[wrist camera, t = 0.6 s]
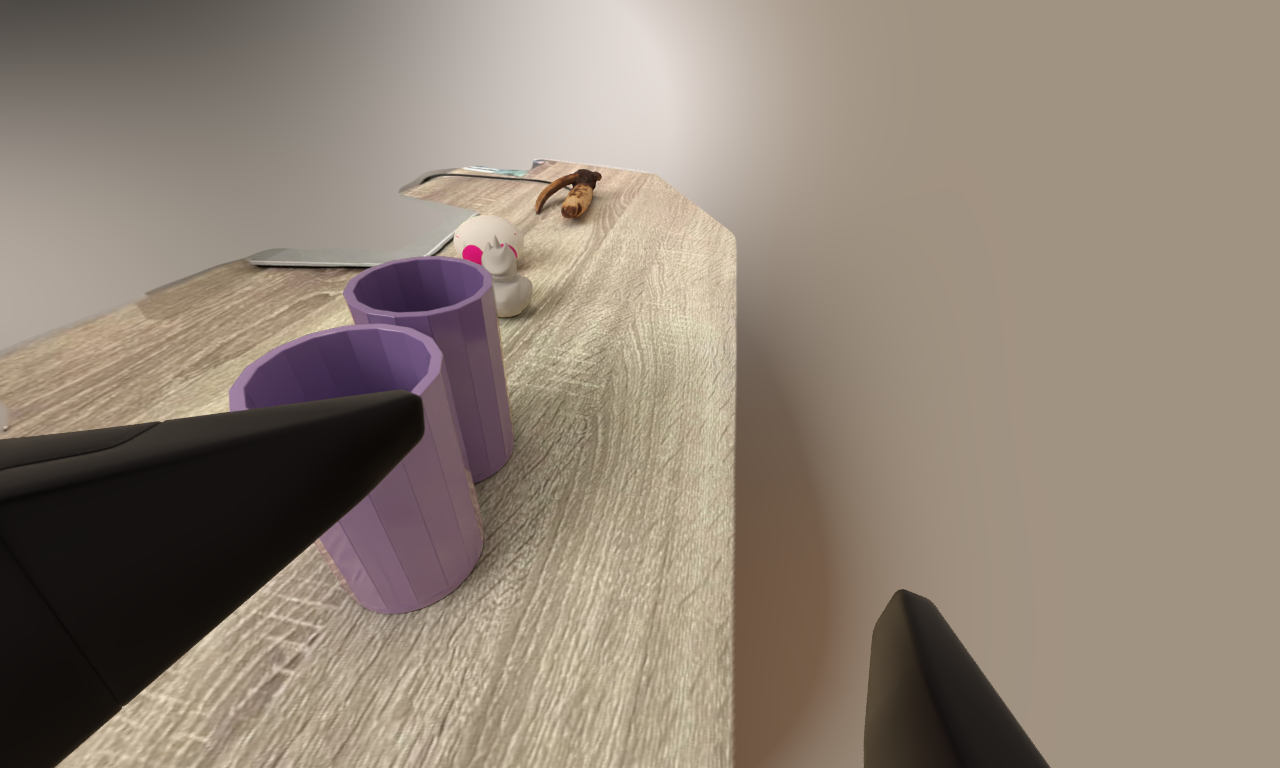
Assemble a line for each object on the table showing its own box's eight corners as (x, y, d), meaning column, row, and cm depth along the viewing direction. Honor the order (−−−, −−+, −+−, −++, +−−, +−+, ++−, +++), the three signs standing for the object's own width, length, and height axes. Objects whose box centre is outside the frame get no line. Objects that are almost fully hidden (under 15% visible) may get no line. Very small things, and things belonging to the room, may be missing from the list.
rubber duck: (471, 326, 42) (456, 243, 38) (484, 294, 48) (472, 217, 43) (530, 327, 43) (523, 245, 38) (536, 295, 48) (530, 219, 43)
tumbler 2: (402, 643, 21) (300, 466, 13) (314, 566, 23) (189, 381, 16) (510, 534, 26) (479, 359, 18) (427, 480, 28) (371, 307, 21)
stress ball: (463, 300, 53) (449, 269, 47) (461, 241, 55) (446, 204, 49) (530, 296, 54) (524, 265, 48) (524, 238, 56) (518, 202, 50)
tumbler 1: (456, 506, 27) (406, 332, 19) (381, 457, 29) (312, 286, 22) (535, 439, 32) (519, 279, 24) (465, 401, 34) (432, 246, 27)
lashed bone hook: (551, 192, 80) (525, 223, 65) (548, 163, 77) (521, 189, 62) (604, 195, 79) (590, 227, 65) (603, 165, 77) (589, 192, 62)
